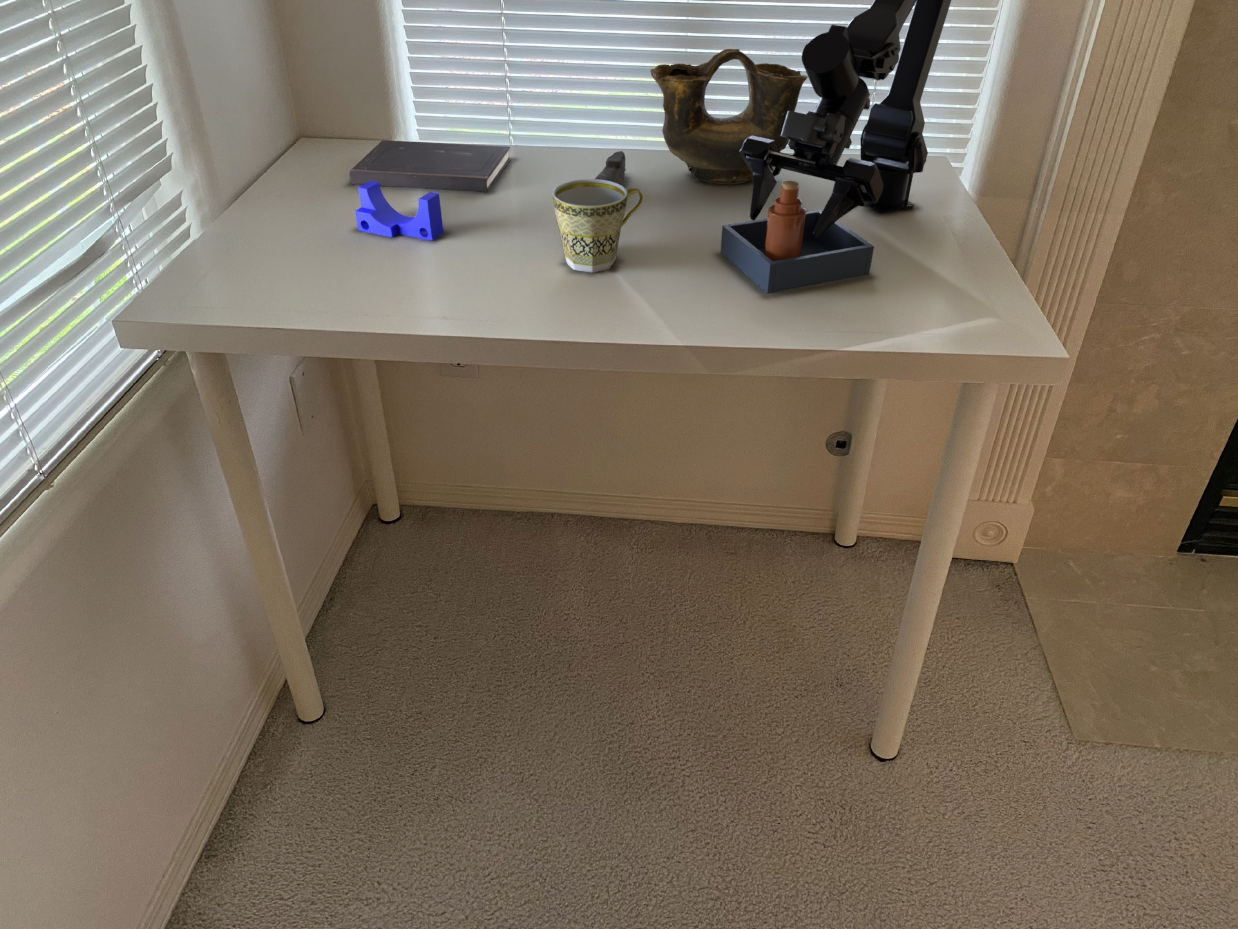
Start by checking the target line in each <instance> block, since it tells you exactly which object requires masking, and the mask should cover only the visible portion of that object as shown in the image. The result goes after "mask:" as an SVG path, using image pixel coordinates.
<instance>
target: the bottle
mask: <svg viewBox="0 0 1238 929" xmlns="http://www.w3.org/2000/svg"><path fill="white" fill-rule="evenodd" d="M799 188H800V187H799V183H798V182H797V181H795V180H785V181H783V182H782V184H781V187H780V193H779V194H780V195H779V196H778V197H777V198H775V200H774V204H771V205H770V206H769V207H768V212H767V218H768V220H767V229H766V239H765V249H764V255H765V256H767V257H768V258H769V259H770V260H772V261H779V260H784V259H790V258H795V257H800V256H801V248H802V240H803V233H804V225H805V217H806V212H807V210H806V208H804V207H803V206H802V205H803V204H802V203H803V201H802V200H801V199H800V198H799Z"/></svg>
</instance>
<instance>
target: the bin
mask: <svg viewBox="0 0 1238 929" xmlns="http://www.w3.org/2000/svg"><path fill="white" fill-rule="evenodd" d="M822 211H823V210H821V209H816V210H810V211H806V217H805V225H804V233H803V240H802V248H801V256H800V257H795V258H790V259H784V260H779V261H772V260H770V259H769V258H768V257H767V256H765V255H764V249H765V239H766V229H767V220H768V217H767V218H760V219H755V220H748V221H742V222H735V223H731V224H722V226H721V240H720V254H721V255H722V256H723V257H725V258H726V259H727V260H728V261H729V262H730V263H731V264H732V265H734V266H735V267H736V268H737V269H738V270H739V271H741V273H743V274H744V275H745V276H747V278H749V280H751V281H752V282H753V283H755V285H757V286H758V287H759V288H760V289H761V290H763V292H764V293H766V294H767V295H768V294H772V293H778V292H784V291H788V290H795V289H800V288H805V287H810V286H816V285H821V284H826V283H831V282H837V281H842V280H847V279H853V278H857V277H862V276H863V277H864V276H868V275H870V273H871V272H870V271H871V266H872V261H873V256H874V249H875V246H874V245H873V244H871V243H870V242H868V240H866V239H864V238H863V237H862V236H860V235H858V234H857V233H856V232H854V231H853V230H851V229H849V228H848V227H847V226H845V225H844V224H842V223H841V222H839V220H837V221H836V222H835V223H834V224H833V225H831V226H830V227H829V228H828V229H827V230H825V231H824V232H823V233H822V234H821V235H820V236H818V237H817V238H816V237H814V236H813V230H814V228H815V225H816V223H817V221H818V219H819V217H820V215H821V213H822Z"/></svg>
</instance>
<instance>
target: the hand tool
mask: <svg viewBox="0 0 1238 929" xmlns="http://www.w3.org/2000/svg"><path fill="white" fill-rule="evenodd" d="M626 162H627V160H626V155H625V152H624V151H623V150H620V151H615V152H614V153H613V154H612V155H610V156H608V157H607V159H606V161H605V166H604V167H603V169H602V170H601V171H600V173H598V174H597V176H596V177H595V178H594V179H599V180H606V181H611V182H614V183H617V184H620V185H621V186H623V183H624V182H625V181H624V180H625V172H626V170H627V169H626Z"/></svg>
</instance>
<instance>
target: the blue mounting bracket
mask: <svg viewBox="0 0 1238 929" xmlns="http://www.w3.org/2000/svg"><path fill="white" fill-rule="evenodd" d="M357 190H358V195H359V202H360V207H359V208H358V209H356V210H354V213H355V219H356V224H357V229H358V231H360V232H364V233H369V234H375V235H379V236H383V237H389V238H393V237H395V236H397V235H402V236H407V237H411V238H412V237H413V238H416V239H417V238H418V239H422V240H426V241H431V242H433V241H435V239H437V238H439V237H440V236H442V235H443V234H444V224H443V214H442V207H441V206H442V205H441V199H440V193H438V192H433V191H429V192H428V193H426V194H424V195H423V196H421V197H419V198H418V199H417V201H418V207H417V212H416V214H415V216H407V215H404V214H402V213H400V212H399V211H397V210H396V209H395V208H394V207H392V205H390V203H389V202H388V200H387V199H386V197H385V195H384V193H383V192H382V189H381V186H380V184H379V182H375V181H369V182H367V183H366V184H364V185H360V186H358V187H357Z"/></svg>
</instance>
